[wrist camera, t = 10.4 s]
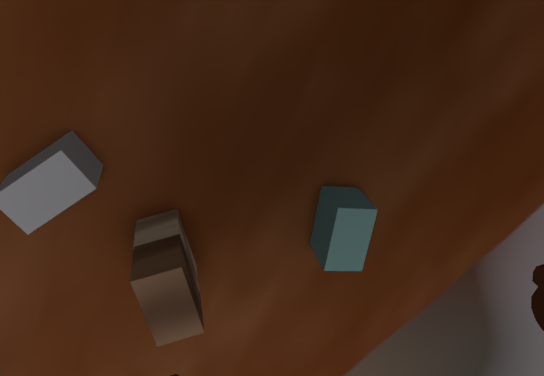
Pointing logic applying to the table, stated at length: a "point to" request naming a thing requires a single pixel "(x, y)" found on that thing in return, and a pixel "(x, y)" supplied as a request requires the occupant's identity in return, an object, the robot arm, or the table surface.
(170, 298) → the walnut block
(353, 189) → the teal block
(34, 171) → the grey block
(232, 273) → the table surface
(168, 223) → the maple block
